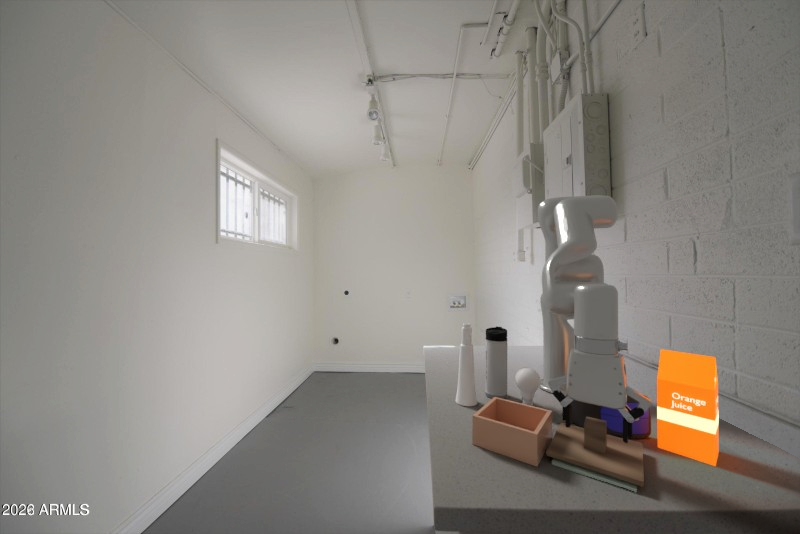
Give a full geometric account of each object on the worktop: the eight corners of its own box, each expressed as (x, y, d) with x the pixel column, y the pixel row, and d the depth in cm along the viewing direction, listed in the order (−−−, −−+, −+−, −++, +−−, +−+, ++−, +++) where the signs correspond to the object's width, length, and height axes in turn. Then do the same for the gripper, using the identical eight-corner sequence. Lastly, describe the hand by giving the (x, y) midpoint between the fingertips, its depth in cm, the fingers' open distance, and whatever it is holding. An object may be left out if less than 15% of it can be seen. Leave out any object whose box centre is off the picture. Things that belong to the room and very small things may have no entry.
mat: (566, 431, 73) (566, 429, 73) (636, 450, 65) (636, 447, 65) (551, 464, 60) (551, 461, 60) (636, 493, 53) (636, 490, 53)
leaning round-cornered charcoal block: (568, 427, 75) (568, 387, 75) (568, 420, 79) (568, 381, 79) (654, 446, 67) (654, 401, 67) (650, 436, 71) (649, 394, 71)
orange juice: (664, 435, 72) (663, 346, 72) (719, 451, 65) (718, 354, 66) (657, 447, 67) (656, 351, 67) (716, 467, 60) (715, 360, 60)
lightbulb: (543, 415, 81) (543, 372, 81) (517, 412, 83) (517, 370, 83) (537, 405, 87) (537, 365, 88) (513, 403, 89) (513, 363, 89)
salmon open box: (494, 421, 78) (494, 396, 78) (552, 438, 70) (552, 410, 70) (472, 444, 67) (472, 415, 67) (537, 466, 60) (537, 434, 60)
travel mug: (509, 394, 95) (509, 327, 96) (504, 401, 90) (504, 330, 90) (488, 390, 99) (488, 325, 99) (482, 397, 93) (482, 328, 93)
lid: (561, 428, 73) (560, 400, 74) (642, 450, 64) (642, 418, 65) (546, 458, 61) (546, 425, 62) (643, 490, 52) (643, 451, 53)
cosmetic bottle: (453, 404, 87) (453, 324, 88) (457, 396, 93) (457, 321, 94) (475, 408, 85) (476, 326, 86) (478, 399, 91) (478, 323, 91)
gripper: (650, 348, 61) (650, 438, 61) (552, 337, 71) (552, 413, 71) (651, 356, 55) (652, 456, 55) (544, 342, 65) (544, 426, 65)
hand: (595, 432), depth 63 cm, fingers open, 9 cm apart
